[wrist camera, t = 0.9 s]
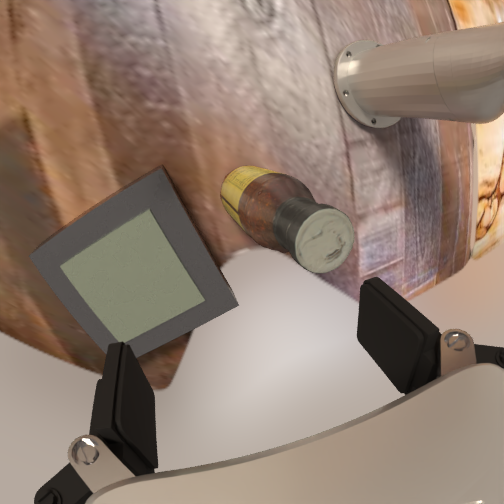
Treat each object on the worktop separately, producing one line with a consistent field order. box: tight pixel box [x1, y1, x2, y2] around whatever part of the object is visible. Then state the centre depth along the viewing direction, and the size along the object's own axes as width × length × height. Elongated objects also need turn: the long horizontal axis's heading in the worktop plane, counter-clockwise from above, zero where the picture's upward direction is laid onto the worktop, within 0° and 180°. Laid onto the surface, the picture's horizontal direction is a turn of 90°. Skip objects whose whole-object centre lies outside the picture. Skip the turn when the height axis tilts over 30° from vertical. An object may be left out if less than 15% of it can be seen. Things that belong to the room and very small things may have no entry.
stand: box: [29, 165, 239, 358], centre depth 33 cm, size 18×18×4 cm
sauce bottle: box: [220, 166, 354, 274], centre depth 26 cm, size 7×6×20 cm
